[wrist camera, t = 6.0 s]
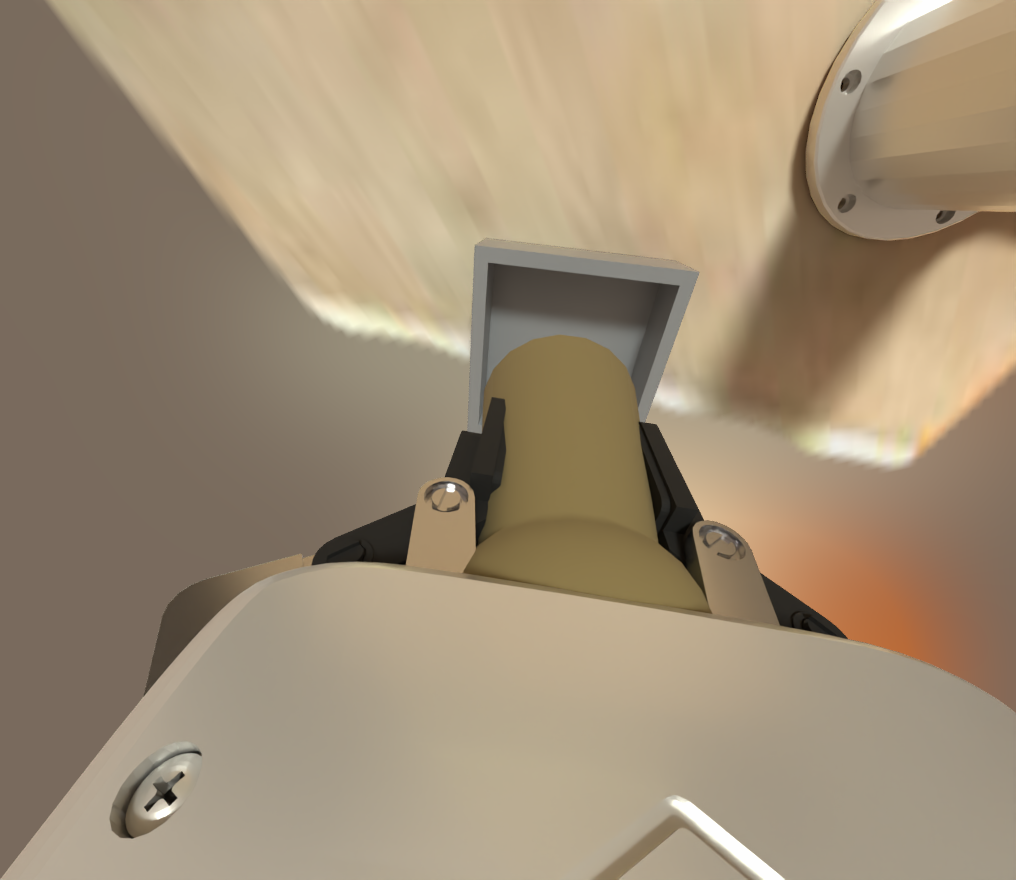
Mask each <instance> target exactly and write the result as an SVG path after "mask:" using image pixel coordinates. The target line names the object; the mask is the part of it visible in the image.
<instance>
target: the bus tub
mask: <svg viewBox="0 0 1016 880" xmlns="http://www.w3.org/2000/svg"><path fill="white" fill-rule="evenodd" d="M698 275H699V271H696V270H694V269H692V268H690V267H688V266H686V265H684V264H681V263H679V262H677V261H674V260H665V259H657V258H648V257H640V256H632V255H623V254H615V253H606V252H598V251H590V250H581V249H573V248H564V247H556V246H548V245H539V244H531V243H522V242H514V241H506V240H497V239H489V238H485V239H484V240H482V241H481V242H479V243H477V244H476V245H475V253H474V278H473V303H472V329H471V354H470V381H469V405H468V432H474V433H480V434H482V418H483V400H484V389H485V387H486V384H487V382H488V380H489V378H490V375H491V373H492V371H493V369H494V368H495V367H496V366H497V365H498V364H499V363H500V361H501V360H502V359H503V358H504V357H505V356H506V355H507V354H508V353H509V352H510V351H512V350H514V349H516V348H517V347H519V346H521V345H523V344H525V343H527V342H529V341H531V340H532V339H537V338H543V337H548V336H554V335H567V336H575V337H582V338H587V339H589V340H591V341H593V342H595V343H597V344H599V345H601V346H603V347H605V348H608V349H609V350H610V351H611V352H612V353H613V354H614V355H615V356H616V357H617V358H618V359H619V360H620V361H621V362H622V363H623V364H624V365H625V366H626V368H627V370H628V373H629V375H630V377H631V380H632V382H633V384H634V387H635V392H636V398H637V405H638V412H639V418H640V422H645V421H646V418H647V415H648V413H649V410H650V407H651V404H652V402H653V399H654V396H655V393H656V391H657V388H658V385H659V382H660V380H661V377H662V374H663V371H664V369H665V366H666V363H667V360H668V358H669V355H670V352H671V349H672V347H673V344H674V341H675V338H676V336H677V333H678V330H679V327H680V325H681V322H682V319H683V316H684V313H685V311H686V308H687V305H688V302H689V300H690V297H691V294H692V291H693V289H694V286H695V283H696V280H697V278H698Z"/></svg>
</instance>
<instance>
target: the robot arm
mask: <svg viewBox="0 0 1016 880" xmlns="http://www.w3.org/2000/svg"><path fill="white" fill-rule="evenodd" d="M842 81H843V84H844V85H843V88H842V90H841V89H840V86H841V82H842ZM806 177H807V182H808V186H809V190H810V194H811V197H812V199H813V201H814V203H815V205H816V207H817V209H818V211H819V212H820V214H821V215H822V216H823V217H824V218H825V219H826V220H827V221H828V222H829V223H830V224H831V225H832V226H834V227H835V228H837V229H839V230H841V231H843V232H845V233H846V234H848V235H853V236H857V237H861V238H865V239H875V240H886V241H889V240H901V239H911V238H915V237H919V236H922V235H926V234H930V233H934V232H937V231H939V230H942V229H944V228H947V227H949V226H951V225H954V224H956V223H959V222H961V221H963V220H965V219H967V218H968V217H970V216H972V215H974V214H976V213H977V212H979V211H996V212H1016V0H876V1H875V2H874V4H873V5H872V6H871V7H870V9H869V10H868V11H867V13H866V14H865V15H864V16H863V18H862V19H861V20H860V22H859V23H858V24H857V26H856V27H855V28H854V30H853V32H852V33H851V35H850V37H849V38H848V40H847V41H846V43H845V45H844V46H843V48H842V50H841V51H840V53H839V55H838V56H837V58H836V59H835V61H834V63H833V66H832V68H831V70H830V72H829V74H828V76H827V78H826V81H825V83H824V85H823V87H822V89H821V91H820V94H819V97H818V100H817V103H816V106H815V110H814V113H813V116H812V119H811V122H810V127H809V133H808V140H807V146H806ZM840 201H841V202H840ZM839 202H840V205H839ZM838 205H839V206H838ZM505 412H506V405H505V399H502V398H496V397H492V398H491V402H490V405H489V409H488V412H487V416H486V420H485V423H484V427H483V430H482V434H480V433H474V432H468V431H462V432H461V434H460V437H459V440H458V442H457V445H456V448H455V451H454V453H453V456H452V459H451V462H450V464H449V467H448V470H447V472H446V475H445V477H444V478H437V479H433V480H431V481H429V482H427V483H425V484H424V485H423V486H422V487H421V488H420V490H419V492H418V496H417V502H416V504H415V505H413V506H410V507H408V508H406V509H403V510H401V511H398V512H396V513H394V514H391V515H389V516H386V517H384V518H382V519H379V520H377V521H374V522H372V523H370V524H367V525H365V526H362V527H360V528H358V529H355V530H353V531H351V532H348V533H346V534H343V535H341V536H338V537H336V538H334V539H333V540H331V541H329V542H327V543H326V544H324V545H323V546H322V547H321V548H320V549H319V550H318V551H317V553H316V554H315V555H313V556H309V557H305V558H303V557H302V554H298V555H294V556H290V557H287V558H283V559H279V560H275V561H272V562H268V563H264V564H261V565H257V566H253V567H249V568H245V569H241V570H238V571H234V572H230V573H227V574H223V575H219V576H215V577H211V578H208V579H205V580H202V581H199V582H197V583H194V584H192V585H190V586H189V587H187V588H186V589H184V590H183V591H181V592H179V593H178V594H177V595H176V596H175V597H174V598H173V599H172V601H170V602H169V604H168V605H167V607H166V609H165V611H164V613H163V615H162V619H161V623H160V628H159V632H158V636H157V641H156V645H155V649H154V654H153V657H152V662H151V666H150V670H149V675H148V679H147V683H146V687H145V692H144V696H143V698H142V700H141V701H140V702H139V703H138V705H137V706H136V707H135V708H134V709H133V711H132V712H131V713H130V715H129V716H128V717H127V718H126V719H125V721H124V722H123V723H122V724H121V726H120V727H119V728H118V729H117V730H116V732H115V733H114V734H113V736H112V737H111V738H110V739H109V741H108V742H107V743H106V745H105V746H104V747H103V748H102V749H101V751H100V752H99V753H98V755H97V756H96V757H95V759H94V760H93V761H92V762H91V763H90V765H89V766H88V767H87V769H86V770H85V771H84V772H83V774H82V775H81V776H80V778H79V779H78V780H77V781H76V783H75V784H74V785H73V786H72V788H71V789H70V790H69V792H68V793H67V794H66V795H65V797H64V798H63V799H62V801H61V802H60V803H59V804H58V806H57V807H56V808H55V810H54V811H53V812H52V814H51V815H50V816H49V817H48V819H47V820H46V821H45V823H44V824H43V825H42V827H41V828H40V829H39V830H38V832H37V833H36V834H35V835H34V837H33V838H32V839H31V841H30V842H29V843H28V844H27V846H26V847H25V848H24V850H23V851H22V852H21V853H20V855H19V856H18V857H17V859H16V860H15V861H14V863H13V864H12V865H11V866H10V868H9V869H8V870H7V871H6V873H5V874H4V875H3V877H2V878H1V879H0V880H1016V713H1015V712H1014V711H1012V710H1011V709H1010V708H1009V707H1007V706H1006V705H1005V704H1003V703H1002V702H1000V701H999V700H997V699H996V698H994V697H993V696H991V695H989V694H988V693H986V692H984V691H983V690H981V689H979V688H977V687H976V686H974V685H972V684H970V683H969V682H967V681H965V680H963V679H961V678H959V677H957V676H955V675H952V674H950V673H948V672H946V671H944V670H942V669H940V668H937V667H935V666H933V665H931V664H928V663H926V662H923V661H921V660H918V659H915V658H913V657H910V656H907V655H904V654H902V653H899V652H896V651H892V650H888V649H885V648H882V647H878V646H874V645H871V644H868V643H863V642H859V641H854V640H849V639H848V638H847V637H846V636H845V635H844V634H843V633H842V632H841V631H840V630H839V629H838V628H837V627H836V626H835V625H834V624H832V623H831V622H830V621H829V620H827V619H826V618H825V617H823V616H822V615H820V614H819V613H817V612H816V611H814V610H813V609H811V608H810V607H809V606H807V605H806V604H804V603H803V602H801V601H800V600H799V599H797V598H796V597H794V596H793V595H791V594H790V593H789V592H787V591H786V590H784V589H783V588H781V587H780V586H779V585H777V584H775V583H774V582H773V581H771V580H770V579H768V578H767V577H765V576H764V575H763V574H761V573H760V572H759V569H758V566H757V564H756V561H755V559H754V556H753V553H752V550H751V549H750V547H749V545H748V543H747V542H746V541H745V540H744V539H743V538H742V537H741V536H740V535H739V534H738V533H736V532H735V531H734V530H732V529H730V528H729V527H727V526H725V525H723V524H720V523H717V522H713V521H704V519H703V517H702V515H701V513H700V511H699V509H698V507H697V505H696V503H695V501H694V499H693V497H692V495H691V493H690V491H689V489H688V487H687V485H686V483H685V481H684V479H683V477H682V474H681V473H680V471H679V469H678V467H677V465H676V463H675V461H674V459H673V456H672V454H671V452H670V450H669V448H668V446H667V444H666V442H665V440H664V438H663V436H662V434H661V432H660V430H659V428H658V426H657V425H656V424H650V423H645V422H638V423H639V425H640V426H639V432H640V441H641V447H642V452H643V458H644V463H645V468H646V473H647V478H648V483H649V488H650V493H651V498H652V504H653V511H654V517H655V524H656V530H657V537H658V544H660V545H661V546H662V547H663V548H664V549H666V550H667V551H668V552H669V553H671V554H672V555H673V556H674V557H675V558H677V559H678V560H679V561H680V562H681V563H682V564H683V565H684V567H685V568H686V569H687V571H688V572H689V574H690V575H691V576H692V578H693V579H694V580H695V582H696V583H697V584H698V586H699V587H700V588H701V590H702V592H703V594H704V596H705V598H706V601H707V603H708V605H709V607H710V609H711V611H712V614H709V613H703V612H698V611H692V610H686V609H680V608H674V607H668V606H662V605H654V604H647V603H639V602H633V601H627V600H621V599H615V598H609V597H603V596H597V595H592V594H586V593H580V592H575V591H570V590H565V589H559V588H553V587H547V586H540V585H534V584H528V583H522V582H515V581H509V580H503V579H497V578H490V577H484V576H478V575H472V574H465V573H463V571H464V569H465V567H466V566H467V564H468V562H469V561H470V559H471V557H472V556H473V554H474V552H475V551H476V547H477V546H478V538H479V536H480V534H481V532H482V530H483V527H484V525H485V522H486V516H487V511H488V501H489V499H490V494H491V493H493V492H494V491H495V490H496V489H498V488H499V487H500V486H501V480H502V474H503V468H504V461H505V455H506V442H505V432H504V417H505Z"/></svg>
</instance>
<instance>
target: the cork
mask: <svg viewBox="0 0 1016 880" xmlns="http://www.w3.org/2000/svg"><path fill="white" fill-rule="evenodd" d="M492 397H496V398H502V399H505V405H506V412H505V417H504V432H505V442H506V455H505V461H504V468H503V474H502V480H501V486H500V487H499V488H498V489H496V490H495V491H494V492H493V493H491V494H490V499H489V501H488V511H487V516H486V522H485V525H484V527H483V530H482V532H481V534H480V536H479V538H478V546H477V547H476V551H475V552H474V554H473V556H472V557H471V559H470V561H469V562H468V564H467V566H466V567H465V569H464V571H463V573H465V574H472V575H478V576H484V577H490V578H497V579H503V580H509V581H515V582H522V583H528V584H534V585H540V586H547V587H553V588H559V589H565V590H570V591H575V592H580V593H586V594H592V595H597V596H603V597H609V598H615V599H621V600H627V601H633V602H639V603H647V604H654V605H662V606H668V607H674V608H680V609H686V610H692V611H698V612H703V613H709V614H712V611H711V609H710V607H709V605H708V603H707V601H706V598H705V596H704V594H703V592H702V590H701V588H700V587H699V586H698V584H697V583H696V582H695V580H694V579H693V578H692V576H691V575H690V574H689V572H688V571H687V569H686V568H685V567H684V565H683V564H682V563H681V562H680V561H679V560H678V559H677V558H675V557H674V556H673V555H672V554H671V553H669V552H668V551H667V550H666V549H664V548H663V547H662V546H661V545H660V544H658V537H657V530H656V524H655V517H654V511H653V504H652V498H651V493H650V488H649V483H648V478H647V473H646V468H645V463H644V458H643V452H642V447H641V441H640V432H639V426H640V425H639V423H638V422H640V418H639V412H638V405H637V398H636V392H635V387H634V384H633V382H632V380H631V377H630V375H629V373H628V370H627V368H626V366H625V365H624V364H623V363H622V362H621V361H620V360H619V359H618V358H617V357H616V356H615V355H614V354H613V353H612V352H611V351H610V350H609V349H608V348H605V347H603V346H601V345H599V344H597V343H595V342H593V341H591V340H589V339H587V338H582V337H575V336H567V335H554V336H548V337H543V338H537V339H532V340H531V341H529V342H527V343H525V344H523V345H521V346H519V347H517V348H516V349H514V350H512V351H510V352H509V353H508V354H507V355H506V356H505V357H504V358H503V359H502V360H501V361H500V363H499V364H498V365H497V366H496V367H495V368H494V369H493V371H492V373H491V375H490V378H489V380H488V382H487V384H486V387H485V389H484V400H483V418H482V430H483V427H484V423H485V420H486V416H487V412H488V409H489V405H490V402H491V398H492Z"/></svg>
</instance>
